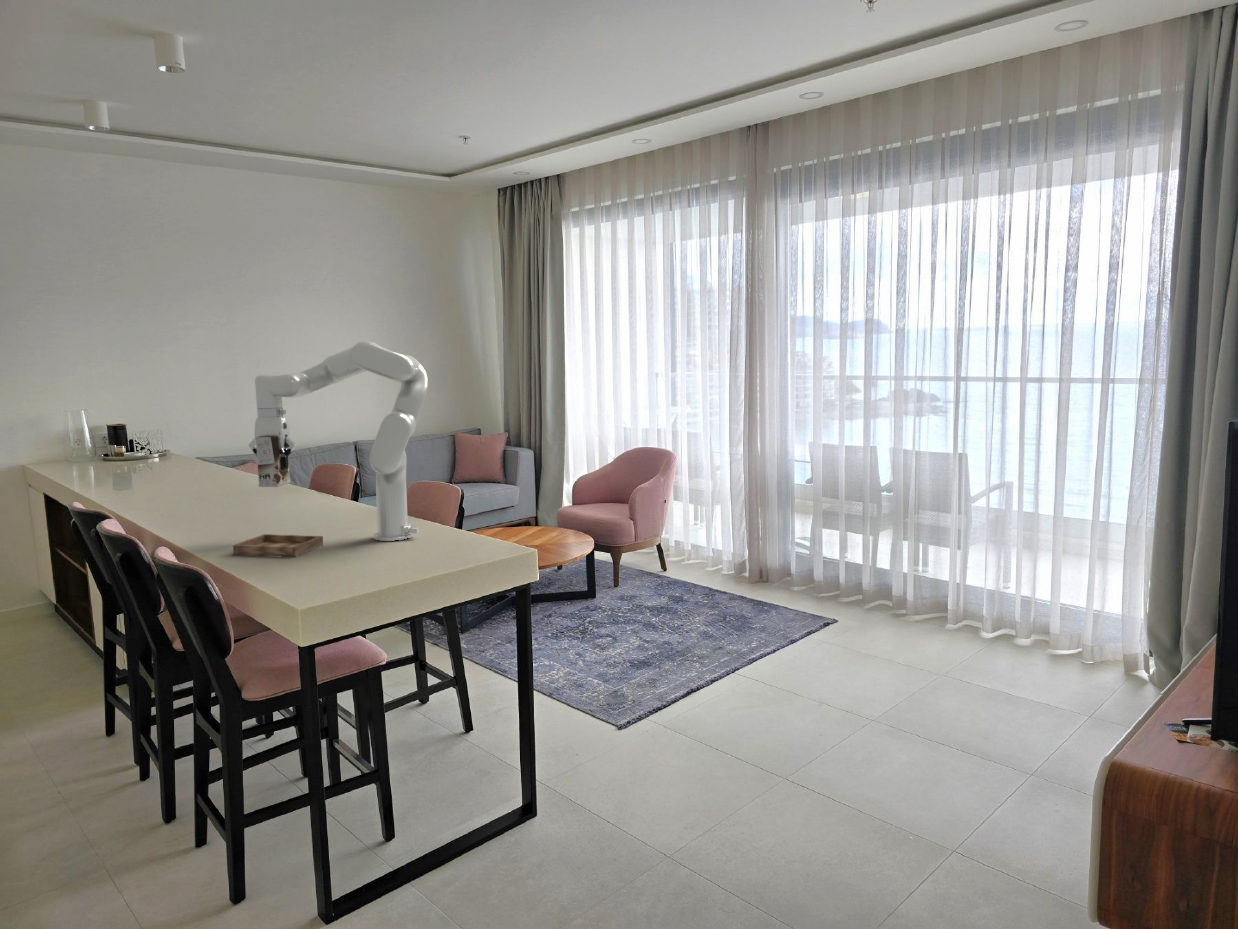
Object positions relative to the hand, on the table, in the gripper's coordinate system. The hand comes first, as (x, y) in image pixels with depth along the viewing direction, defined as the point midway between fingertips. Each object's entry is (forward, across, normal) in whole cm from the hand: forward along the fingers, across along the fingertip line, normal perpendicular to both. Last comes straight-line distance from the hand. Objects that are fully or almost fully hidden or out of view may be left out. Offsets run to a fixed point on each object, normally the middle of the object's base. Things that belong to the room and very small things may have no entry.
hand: (273, 468), depth 261 cm
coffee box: (+6, 0, 0) cm, 6 cm away
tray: (+23, -8, +13) cm, 28 cm away
